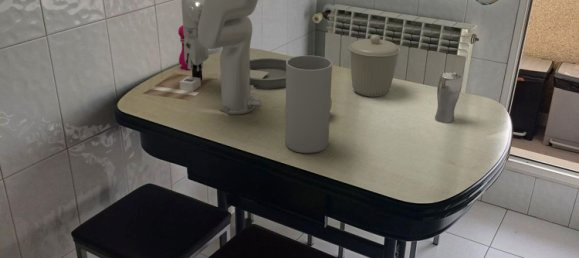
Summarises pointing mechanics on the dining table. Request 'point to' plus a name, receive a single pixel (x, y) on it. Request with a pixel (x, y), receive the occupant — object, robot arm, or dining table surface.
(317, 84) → the cylinder vase
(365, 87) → the canister
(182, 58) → the pepper mill
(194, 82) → the block
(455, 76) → the beer glass
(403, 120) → the dining table surface
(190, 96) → the brown flat board
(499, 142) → the dining table surface
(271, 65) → the cake pan
